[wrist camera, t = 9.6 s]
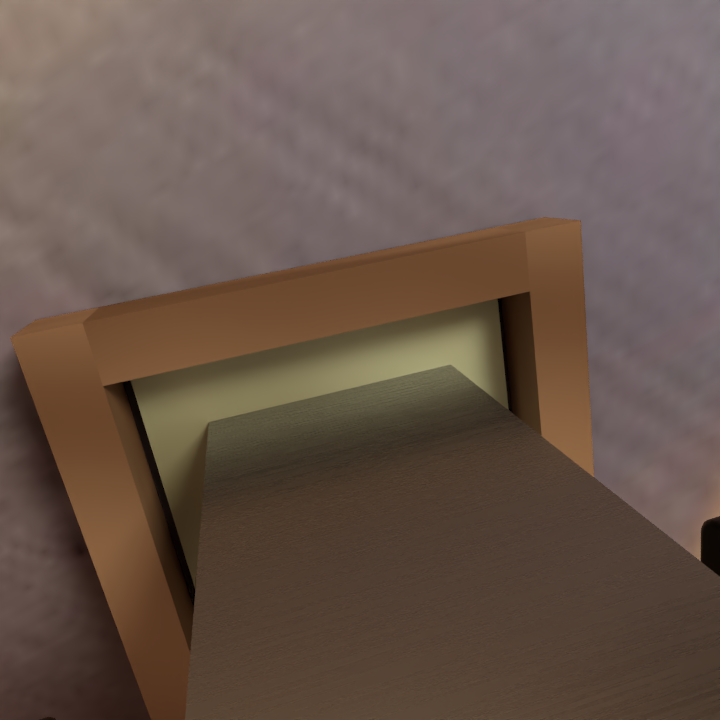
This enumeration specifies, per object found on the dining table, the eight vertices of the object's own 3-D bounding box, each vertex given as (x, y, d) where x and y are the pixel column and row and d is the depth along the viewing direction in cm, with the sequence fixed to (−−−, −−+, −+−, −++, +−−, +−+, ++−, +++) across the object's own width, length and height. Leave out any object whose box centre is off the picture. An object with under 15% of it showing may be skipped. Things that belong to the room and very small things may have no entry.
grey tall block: (476, 564, 12) (938, 1262, 4) (265, 627, 12) (347, 1589, 4) (450, 364, 11) (1058, 844, 3) (209, 421, 10) (142, 1246, 2)
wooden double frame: (591, 893, 17) (618, 944, 16) (280, 1017, 15) (284, 1081, 14) (544, 217, 11) (580, 220, 10) (35, 320, 10) (10, 337, 8)
